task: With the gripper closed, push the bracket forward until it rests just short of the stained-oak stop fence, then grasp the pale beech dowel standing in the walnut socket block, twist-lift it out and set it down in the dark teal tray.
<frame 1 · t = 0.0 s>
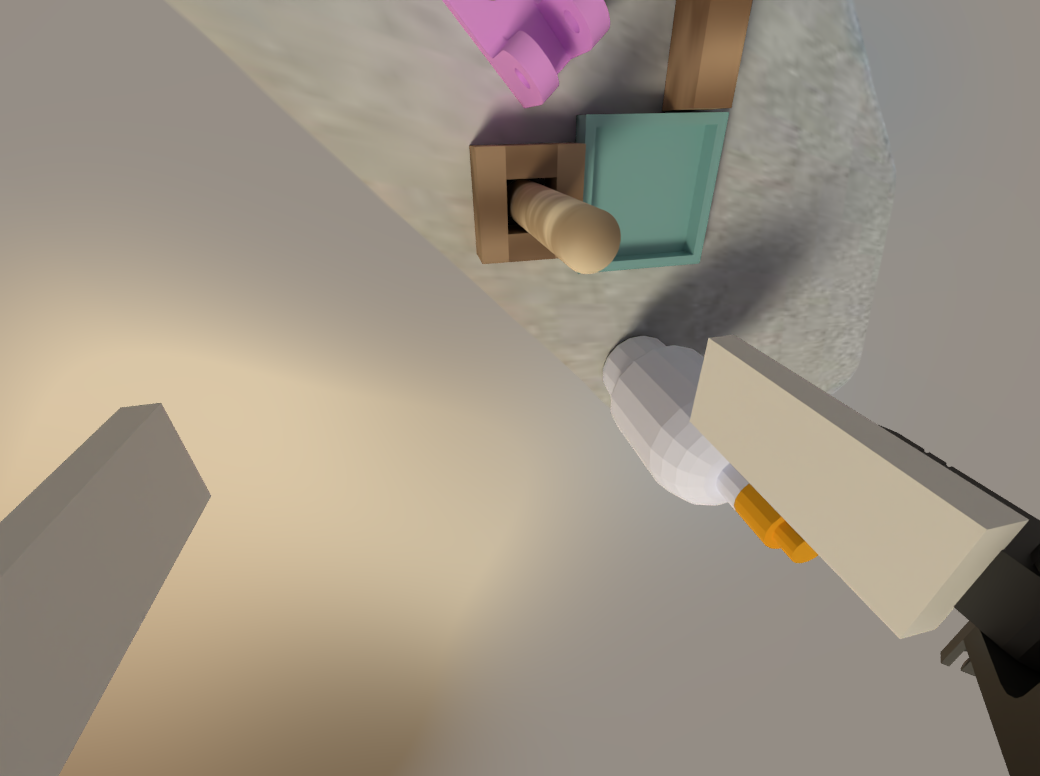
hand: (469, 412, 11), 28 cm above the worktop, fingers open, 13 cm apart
soap bottle: (632, 365, 46), on the worktop
stop fence: (693, 12, 31), on the worktop
socket block: (521, 200, 35), on the worktop
dowel: (548, 216, 28), in the socket block
tray: (637, 194, 37), on the worktop
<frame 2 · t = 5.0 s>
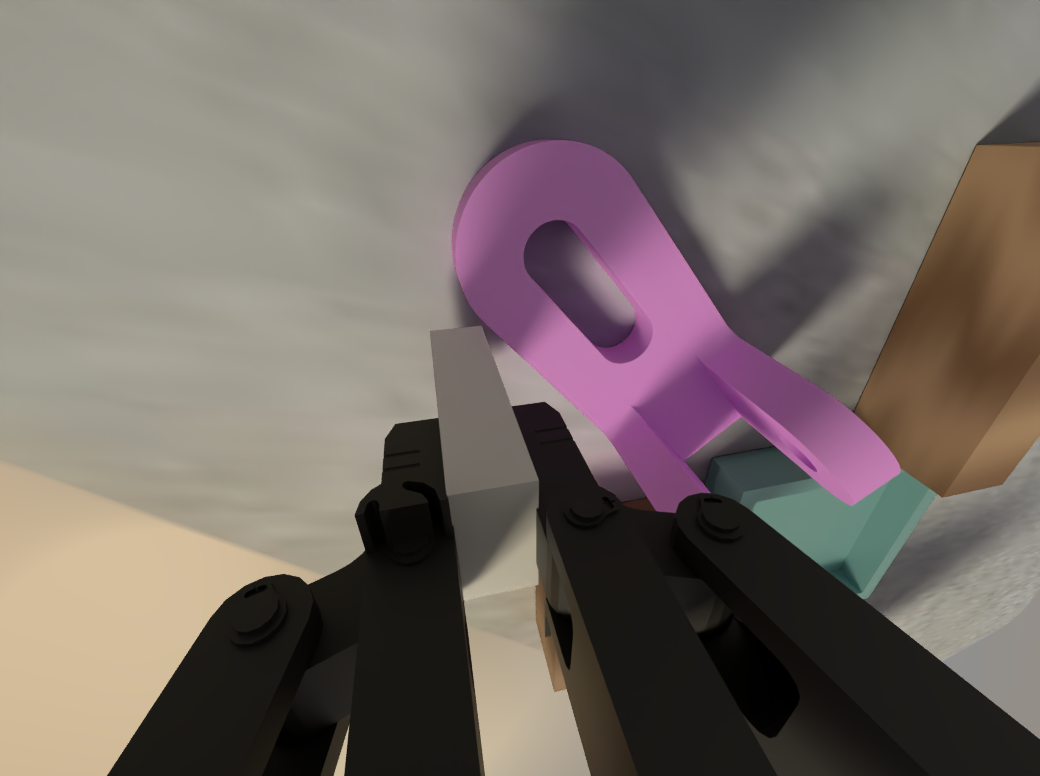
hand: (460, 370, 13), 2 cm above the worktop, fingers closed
stop fence: (929, 309, 18), on the worktop
socket block: (611, 559, 22), on the worktop
bracket: (607, 319, 15), on the worktop, touching gripper
tray: (785, 521, 24), on the worktop
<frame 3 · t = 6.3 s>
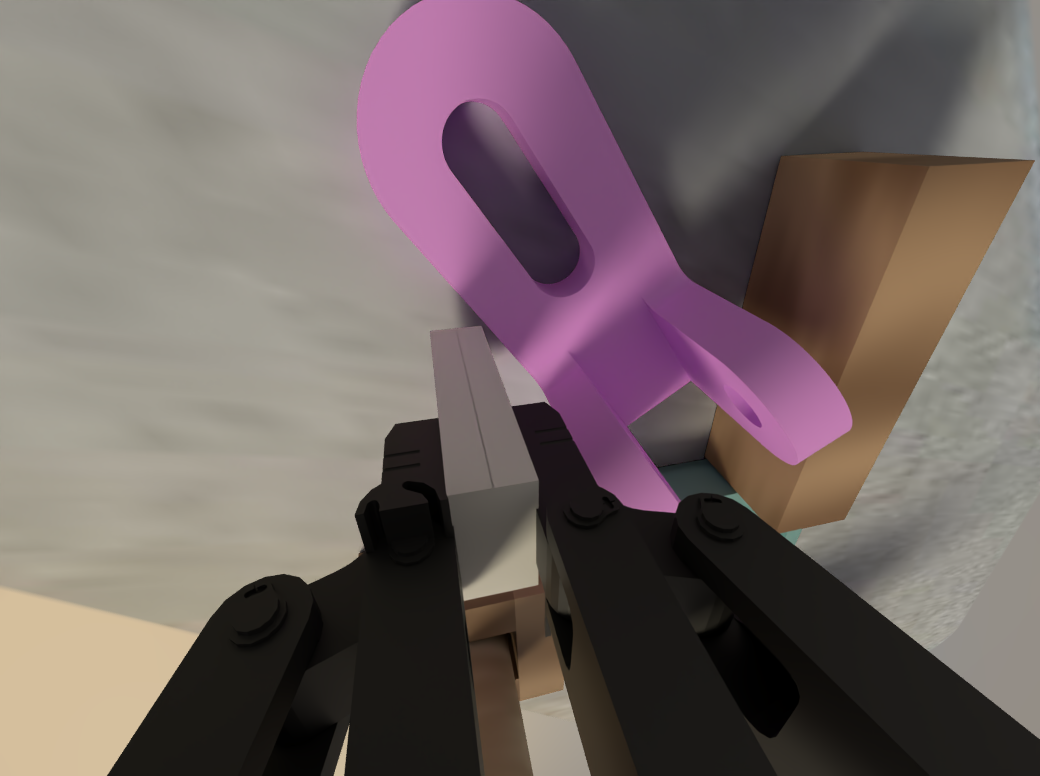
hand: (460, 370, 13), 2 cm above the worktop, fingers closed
stop fence: (769, 330, 17), on the worktop
socket block: (463, 590, 21), on the worktop
bracket: (548, 252, 13), on the worktop, touching gripper
tray: (659, 548, 22), on the worktop
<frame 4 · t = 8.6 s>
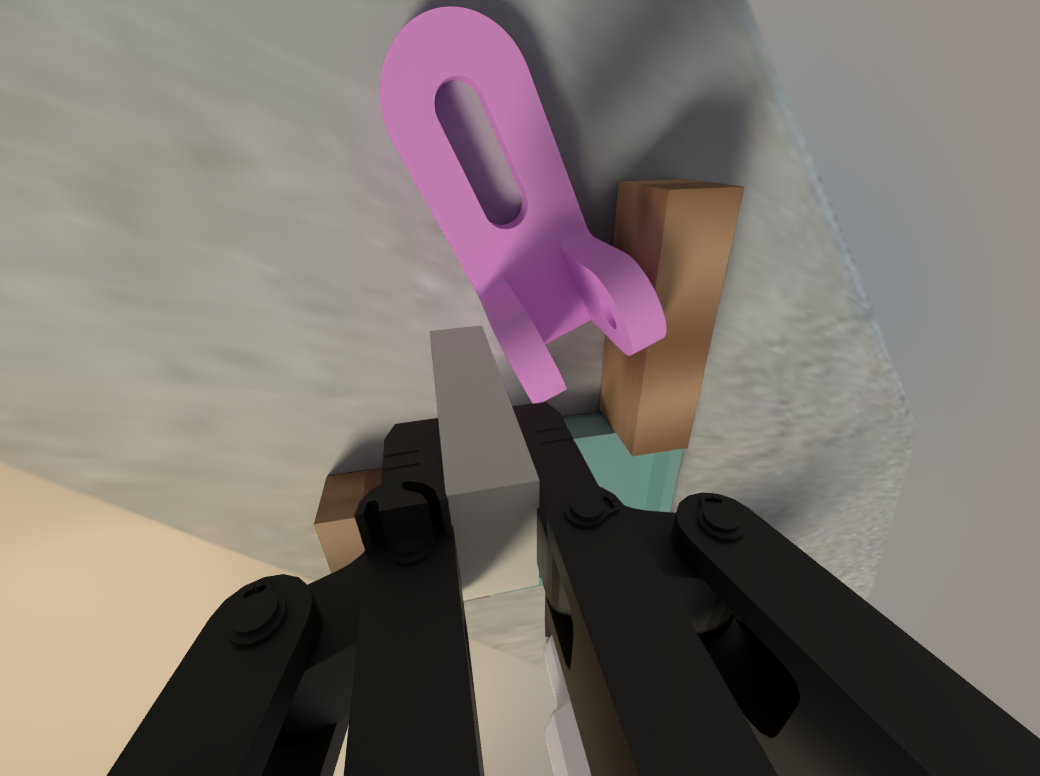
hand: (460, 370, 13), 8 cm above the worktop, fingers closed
soap bottle: (584, 634, 37), on the worktop
stop fence: (634, 307, 22), on the worktop
socket block: (412, 516, 26), on the worktop
bracket: (499, 201, 19), on the worktop
tray: (573, 489, 28), on the worktop
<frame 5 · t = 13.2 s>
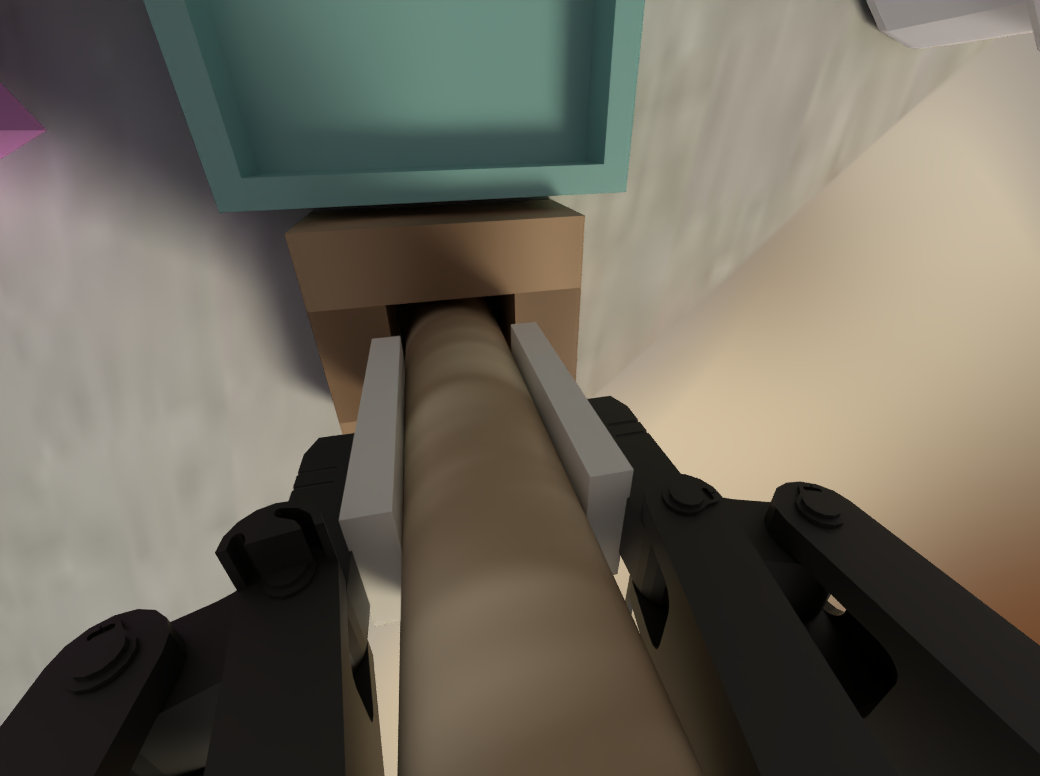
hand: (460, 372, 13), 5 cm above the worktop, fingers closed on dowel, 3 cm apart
socket block: (449, 316, 17), on the worktop
dowel: (476, 443, 10), in the socket block, touching gripper
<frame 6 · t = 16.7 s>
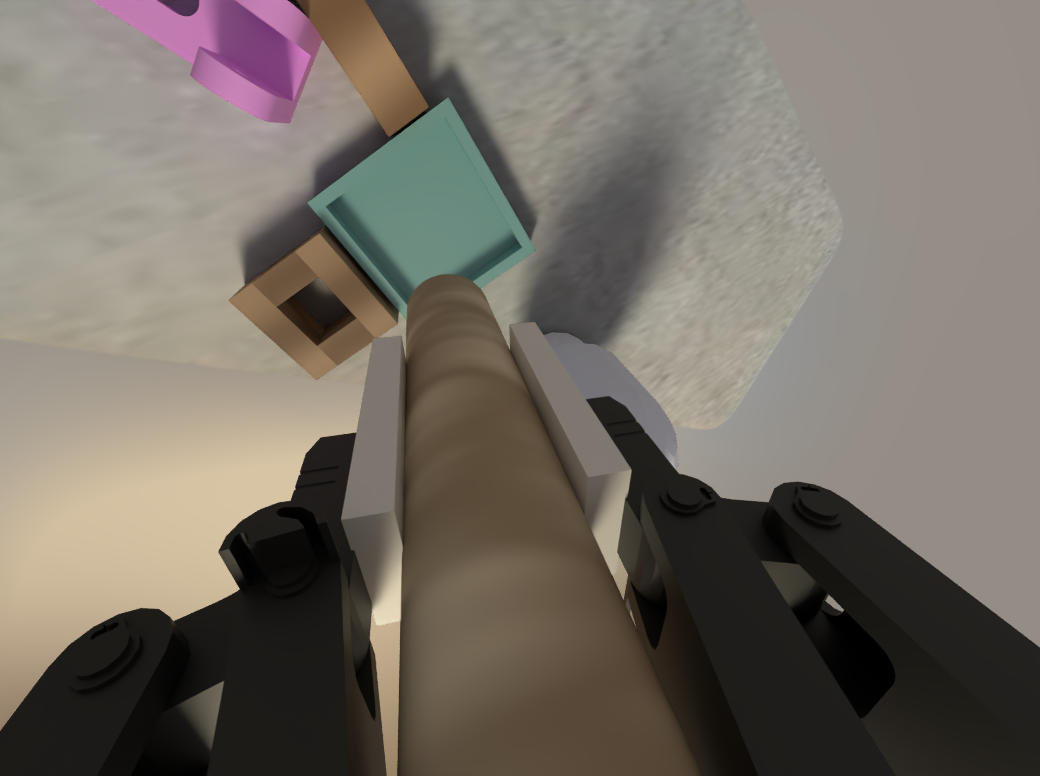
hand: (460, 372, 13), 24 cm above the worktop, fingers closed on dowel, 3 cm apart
soap bottle: (551, 364, 42), on the worktop
stop fence: (345, 24, 26), on the worktop
socket block: (325, 297, 34), on the worktop
bracket: (191, 1, 25), on the worktop
dowel: (474, 435, 10), point 28 cm above the worktop, touching gripper
tray: (429, 223, 33), on the worktop
when the fingers open (7 cm above the worktop, at t = 20.1 s): dowel stays where it is, resting on tray.
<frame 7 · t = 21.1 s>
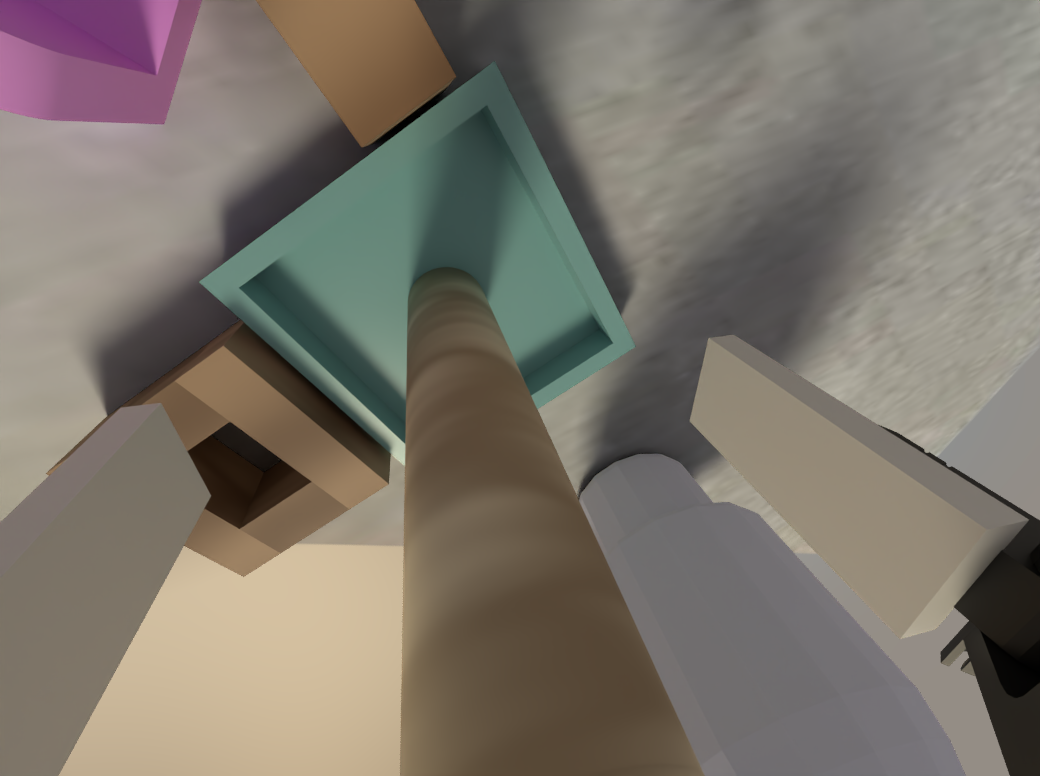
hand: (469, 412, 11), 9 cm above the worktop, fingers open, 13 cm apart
soap bottle: (628, 493, 27), on the worktop
socket block: (261, 426, 19), on the worktop
dowel: (470, 411, 11), in the tray, point 9 cm above the worktop
tray: (446, 300, 18), on the worktop
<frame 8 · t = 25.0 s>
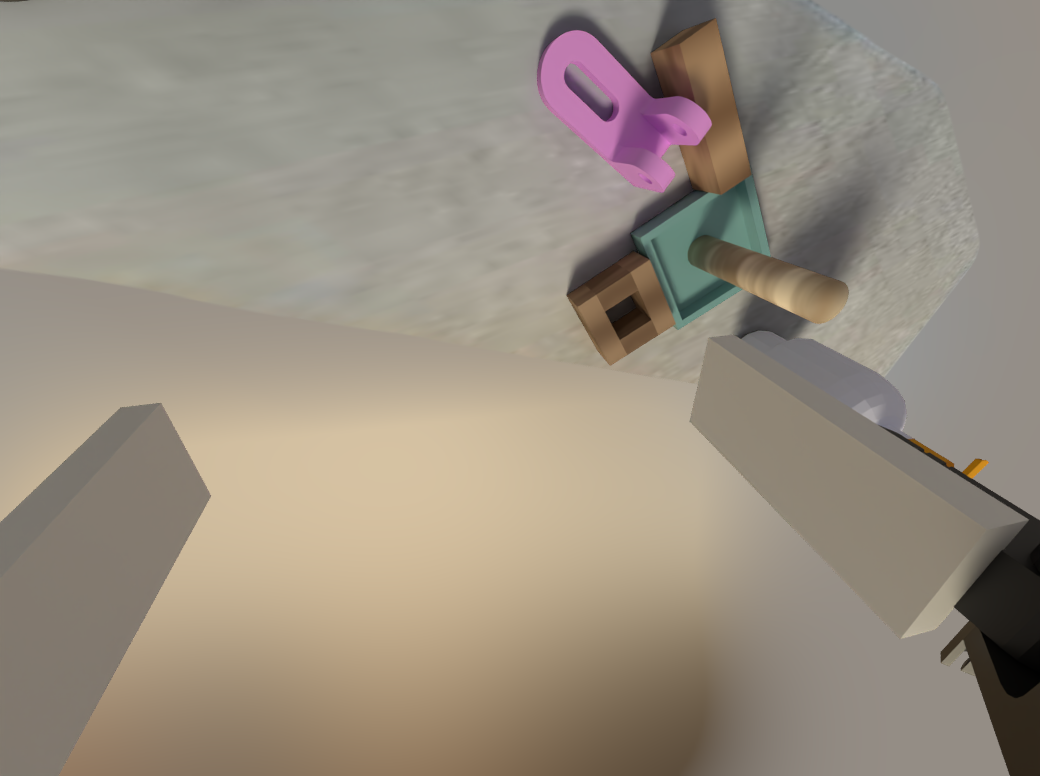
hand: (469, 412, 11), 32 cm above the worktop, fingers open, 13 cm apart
soap bottle: (748, 355, 54), on the worktop
stop fence: (688, 116, 38), on the worktop
socket block: (614, 304, 46), on the worktop
bracket: (601, 109, 37), on the worktop
dowel: (753, 272, 38), in the tray, point 9 cm above the worktop
tray: (698, 249, 45), on the worktop
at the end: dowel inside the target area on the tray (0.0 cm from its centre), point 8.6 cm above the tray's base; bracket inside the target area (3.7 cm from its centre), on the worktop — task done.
